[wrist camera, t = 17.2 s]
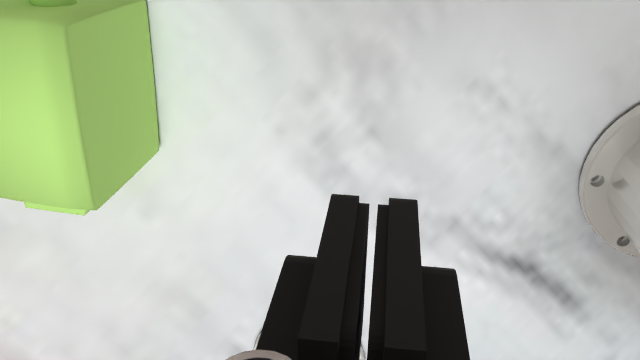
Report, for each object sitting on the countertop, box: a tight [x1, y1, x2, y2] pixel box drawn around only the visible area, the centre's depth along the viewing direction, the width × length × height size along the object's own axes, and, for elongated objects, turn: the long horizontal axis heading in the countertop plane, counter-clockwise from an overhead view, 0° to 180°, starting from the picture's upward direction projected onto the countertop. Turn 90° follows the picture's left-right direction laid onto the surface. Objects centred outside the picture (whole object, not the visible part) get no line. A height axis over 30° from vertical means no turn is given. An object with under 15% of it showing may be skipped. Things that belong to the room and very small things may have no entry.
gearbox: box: [0, 0, 159, 215], centre depth 32 cm, size 18×10×10 cm, turn 177°
